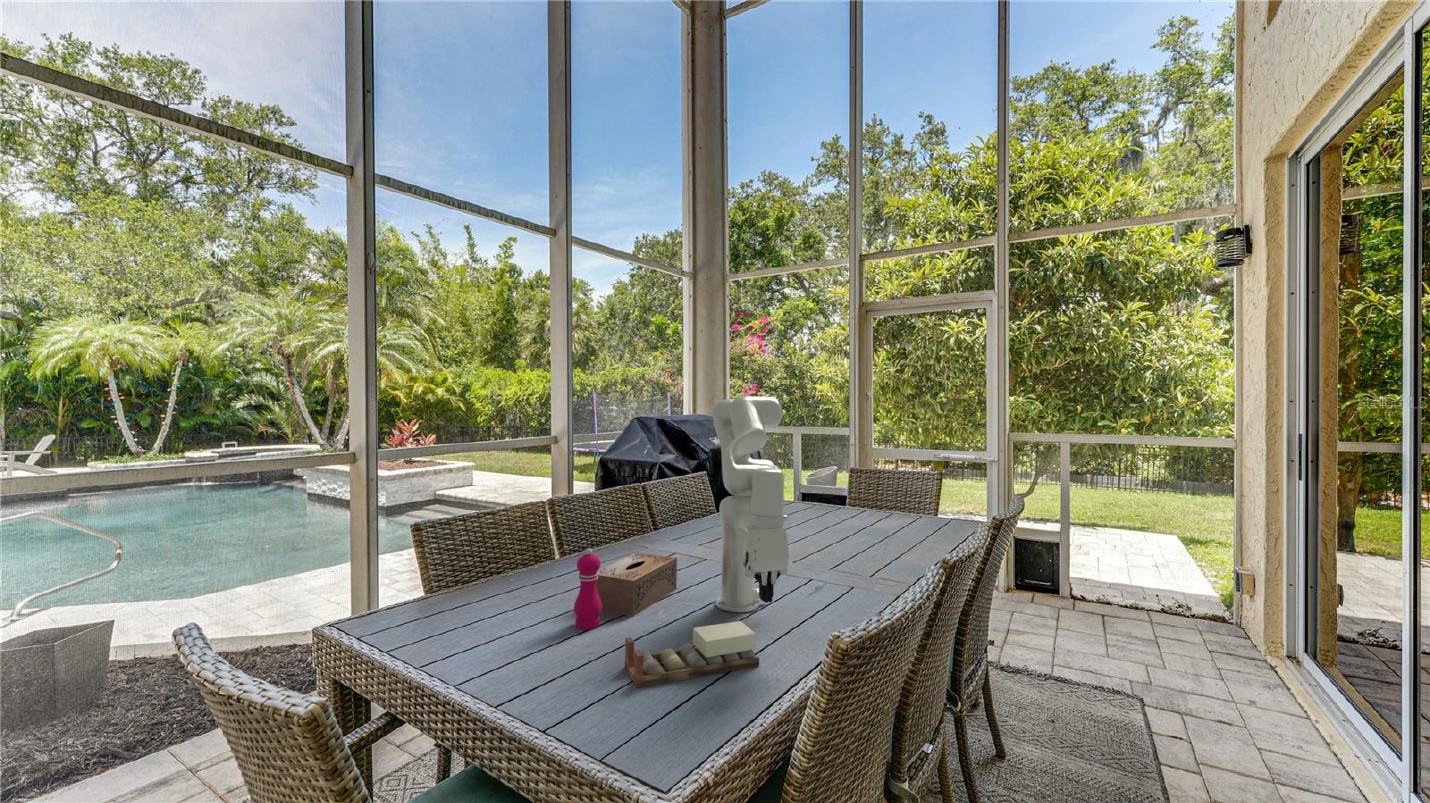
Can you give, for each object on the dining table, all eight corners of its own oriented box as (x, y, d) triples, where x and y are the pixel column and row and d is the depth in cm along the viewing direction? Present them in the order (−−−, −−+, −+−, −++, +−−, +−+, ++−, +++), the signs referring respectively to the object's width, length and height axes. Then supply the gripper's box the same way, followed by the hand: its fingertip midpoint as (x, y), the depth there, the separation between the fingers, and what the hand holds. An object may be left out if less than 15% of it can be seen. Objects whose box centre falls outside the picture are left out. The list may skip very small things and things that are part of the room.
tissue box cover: (636, 583, 192) (636, 552, 192) (676, 589, 186) (677, 557, 186) (588, 608, 168) (589, 573, 168) (633, 617, 162) (633, 580, 162)
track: (739, 648, 143) (740, 621, 143) (758, 666, 134) (759, 637, 134) (625, 667, 132) (625, 637, 132) (637, 687, 123) (637, 656, 123)
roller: (659, 663, 134) (662, 647, 134) (673, 664, 135) (676, 648, 135) (668, 677, 127) (671, 660, 127) (683, 678, 128) (687, 661, 129)
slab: (740, 635, 142) (740, 620, 142) (755, 649, 134) (755, 633, 134) (692, 642, 137) (693, 627, 137) (706, 657, 130) (706, 641, 130)
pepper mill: (595, 631, 151) (596, 552, 151) (568, 628, 153) (569, 550, 153) (606, 621, 158) (607, 545, 158) (580, 618, 160) (581, 544, 160)
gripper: (787, 517, 146) (786, 592, 145) (731, 520, 140) (730, 599, 140) (803, 522, 139) (802, 601, 139) (745, 526, 133) (744, 609, 133)
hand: (766, 600), depth 139 cm, fingers closed
